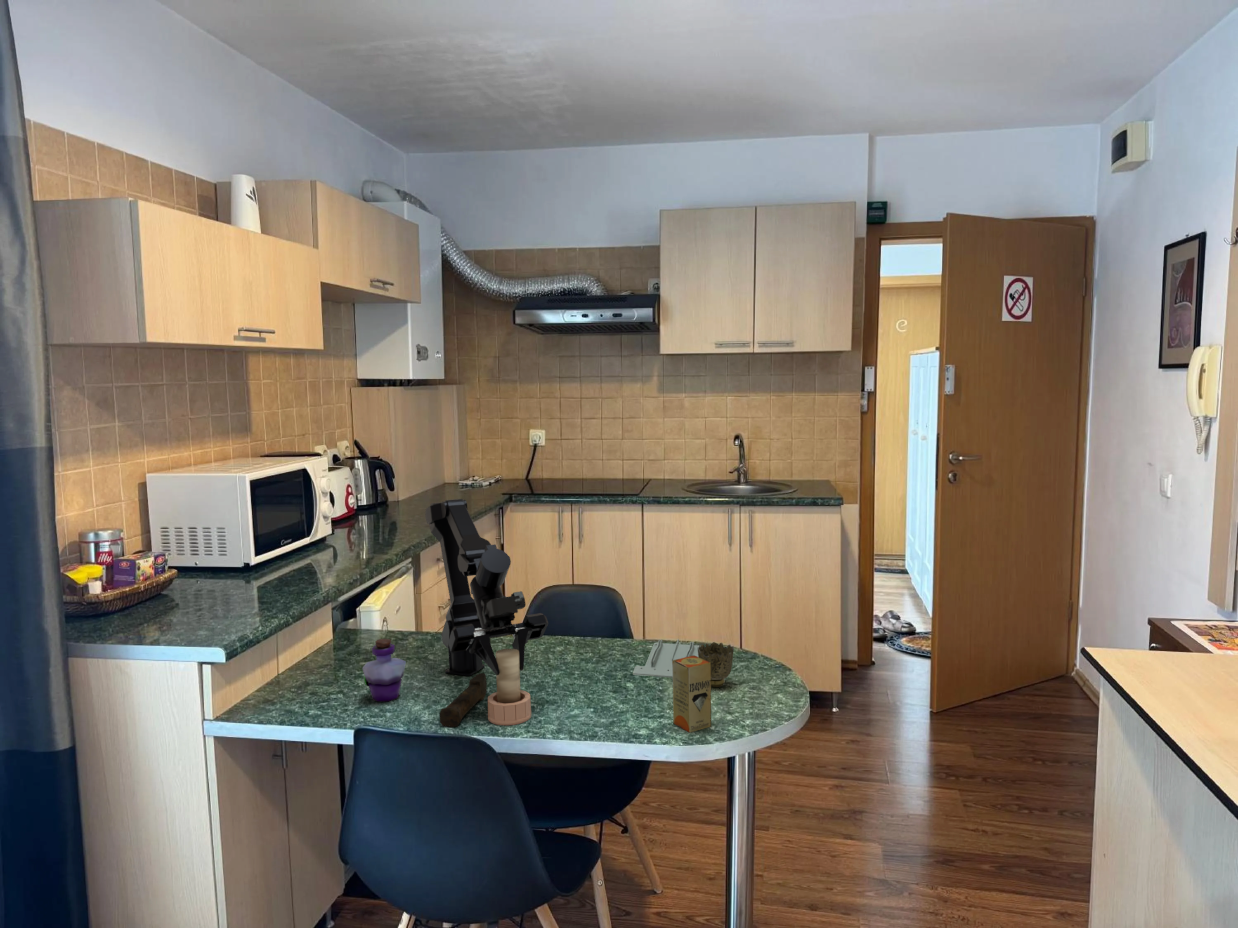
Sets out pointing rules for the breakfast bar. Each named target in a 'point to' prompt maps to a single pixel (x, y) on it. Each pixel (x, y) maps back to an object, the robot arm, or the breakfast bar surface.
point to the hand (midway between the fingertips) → (510, 671)
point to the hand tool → (464, 701)
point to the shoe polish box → (691, 693)
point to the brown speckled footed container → (717, 661)
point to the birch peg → (508, 676)
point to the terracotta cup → (509, 710)
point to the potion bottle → (384, 672)
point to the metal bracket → (665, 658)
